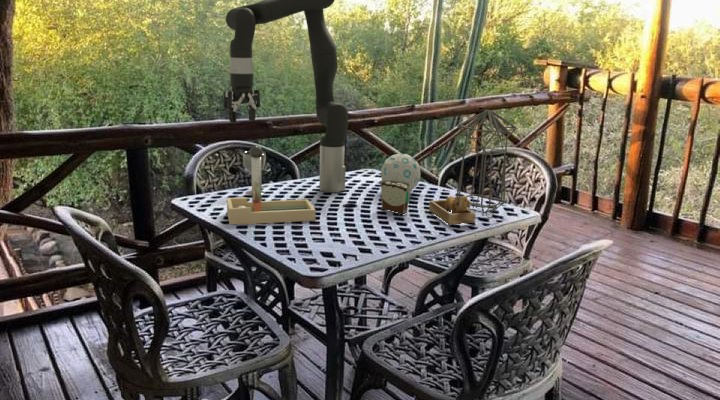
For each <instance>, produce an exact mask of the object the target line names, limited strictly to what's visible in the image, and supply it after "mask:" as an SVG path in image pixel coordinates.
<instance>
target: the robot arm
mask: <svg viewBox="0 0 720 400" xmlns="http://www.w3.org/2000/svg"><path fill="white" fill-rule="evenodd" d="M334 3H335V0H260V1H258V2H256V3H252V4H251V3H250V4H247V5H243V6H237V7H233V8H232V9H231V8H230V10H229V11H228V12H227V13H226V16H225V23H226V26H227V27H229V29H230V30H232V31H234V38H232V39H231V41H230V43H229V44H230V45H229V52H230V53H229V54H230V57H229V58H230V60H229V81H230V82H229V83H230V84H229V85H230V87H231V90H224V91H223V109H224V110H226V111H228V119H229V122H230V123H231V124H236V123H237V110H238V108H239V106H240V105H242V104H245V105H246V106H247V107H248V120H249V121H250V122H251V121H252V122H255V120H256V110H257V108H260V107H261V97H260V95H261V93H260V89H257V88H256V89H254V88H253V87H254V62H253V42H254V37H255V32H256V26H257V25H265V24H269V23H271V22H276V21H278V20H281V19H283V18H286V17H289V16H292V15H295V14H298V13H302V12H304V16H305V17H304V18H305V21H306V26H307V33H308V39H309V40H308V41H309V47H310V57H311V65H312V70H313V79H314V81H313V82H314V88H315V112H316V118H317V122H318V123H320V124H321V125H322V126H325V127H326V129H325V133H324V134H325V135H323V136H321V137H320V139H319V191H321V192H324V193H340V192H346V165H345V145H346V144H345V142H346V140H347V137H348V126H349V115H348V114H349V111H348V109H347V107H346V105H344V104H343V103H340V102H336V101H335V97H334V83H335V78H336V75H337V72H338V65H339V64H338V55H337V54H338V53H337V47H336V44H335V42H334V39H333V37H332V35H331V33H330V31H329V29H328V28H327V25H326V21H325V14H324V10H326V9H328V8H330V7H331V6H332V5H333V4H334Z"/></svg>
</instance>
